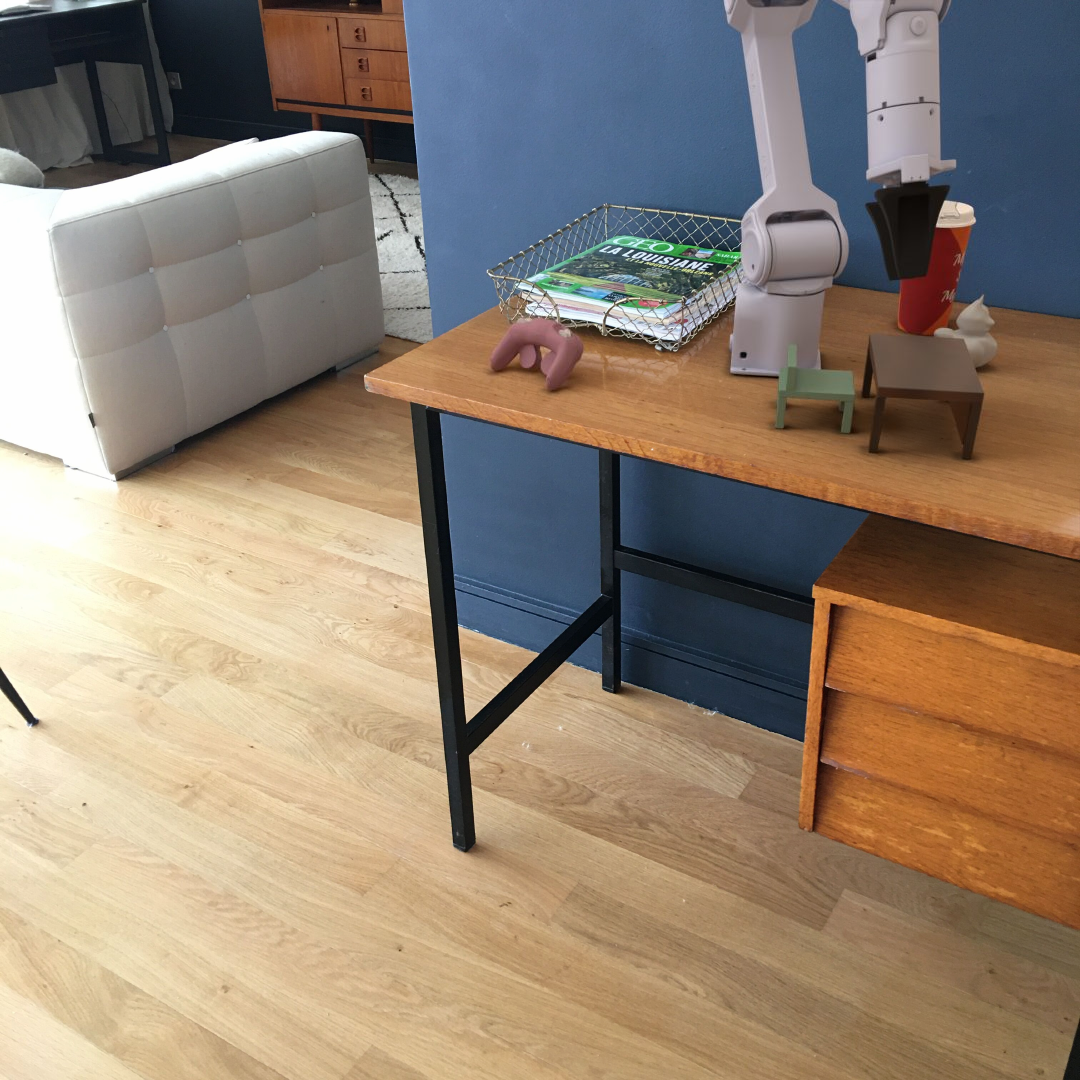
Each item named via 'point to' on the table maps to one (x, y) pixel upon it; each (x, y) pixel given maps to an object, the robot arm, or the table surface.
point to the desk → (924, 380)
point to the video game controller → (527, 344)
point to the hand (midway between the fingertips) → (906, 279)
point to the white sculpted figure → (974, 332)
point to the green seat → (814, 388)
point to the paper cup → (937, 274)
